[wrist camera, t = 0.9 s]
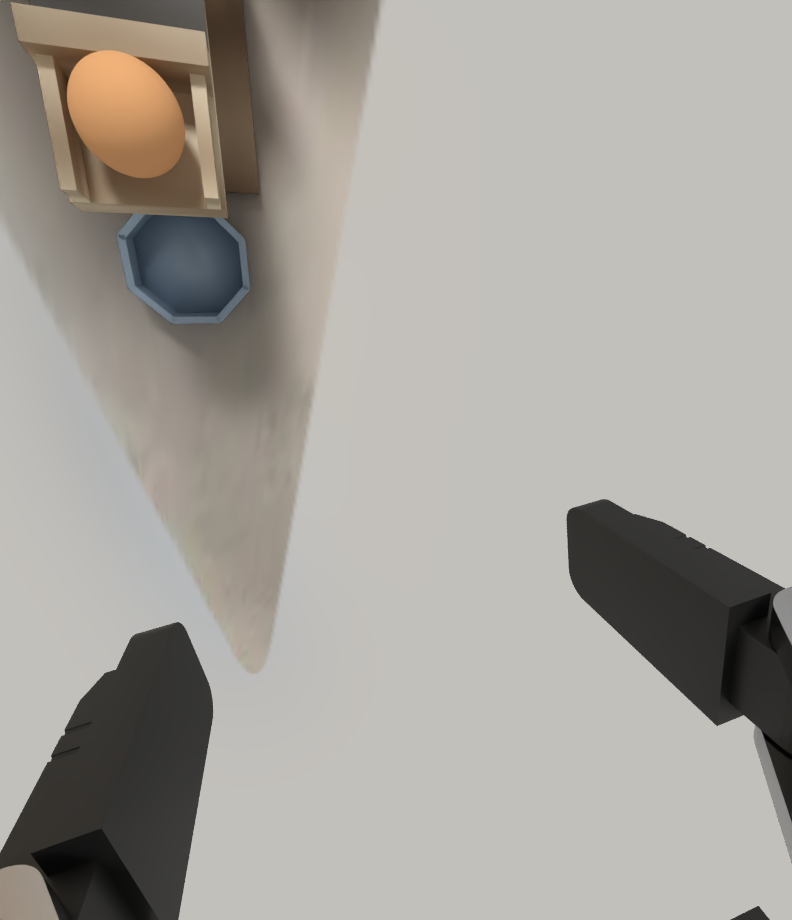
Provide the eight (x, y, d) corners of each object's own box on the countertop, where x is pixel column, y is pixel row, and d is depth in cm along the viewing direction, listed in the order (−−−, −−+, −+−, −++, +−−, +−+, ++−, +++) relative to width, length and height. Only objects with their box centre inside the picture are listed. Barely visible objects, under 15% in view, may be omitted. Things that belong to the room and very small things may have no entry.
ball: (73, 148, 17) (34, 122, 14) (103, 48, 16) (68, -3, 13) (172, 203, 18) (156, 191, 15) (203, 115, 17) (194, 83, 14)
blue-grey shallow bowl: (118, 197, 26) (107, 193, 24) (241, 204, 28) (241, 200, 26) (143, 318, 29) (135, 324, 27) (253, 317, 31) (253, 322, 29)
